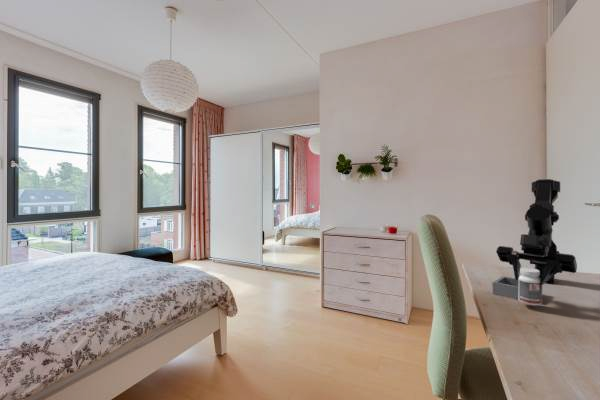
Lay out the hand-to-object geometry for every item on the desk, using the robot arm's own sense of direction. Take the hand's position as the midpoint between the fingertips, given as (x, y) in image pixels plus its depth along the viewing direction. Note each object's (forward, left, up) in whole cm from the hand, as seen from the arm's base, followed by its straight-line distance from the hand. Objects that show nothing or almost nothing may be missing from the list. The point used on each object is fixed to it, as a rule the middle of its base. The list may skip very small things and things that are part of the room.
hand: (528, 281), depth 84 cm
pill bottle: (-1, 0, -7) cm, 7 cm away
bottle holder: (-10, -6, -8) cm, 14 cm away
